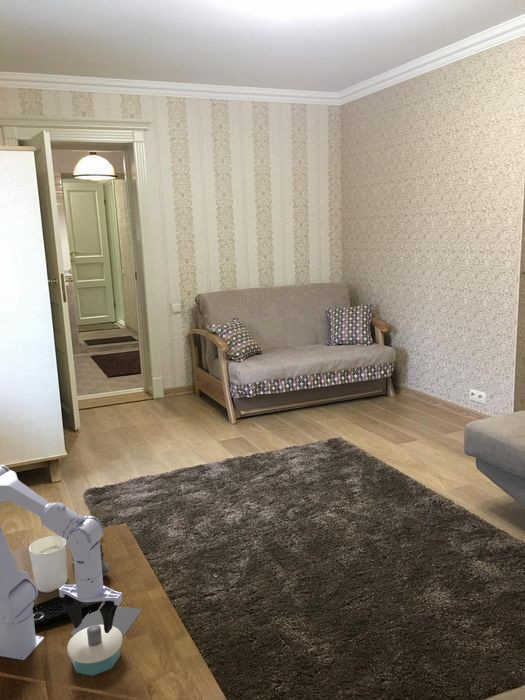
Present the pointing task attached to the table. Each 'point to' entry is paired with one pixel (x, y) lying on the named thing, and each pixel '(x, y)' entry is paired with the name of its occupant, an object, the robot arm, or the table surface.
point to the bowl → (96, 665)
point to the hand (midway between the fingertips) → (93, 627)
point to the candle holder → (49, 563)
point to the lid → (94, 644)
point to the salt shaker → (103, 563)
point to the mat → (121, 619)
